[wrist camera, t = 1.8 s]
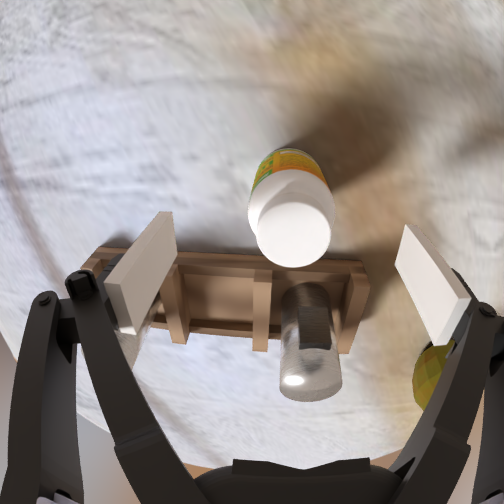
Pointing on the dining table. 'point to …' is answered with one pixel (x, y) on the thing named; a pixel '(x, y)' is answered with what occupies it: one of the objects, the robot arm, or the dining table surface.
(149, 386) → the dining table surface
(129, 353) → the glass spice jar
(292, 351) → the shiny gray cylinder
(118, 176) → the dining table surface
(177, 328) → the wooden spice rack
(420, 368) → the apple
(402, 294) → the dining table surface
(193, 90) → the dining table surface
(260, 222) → the supplement bottle
